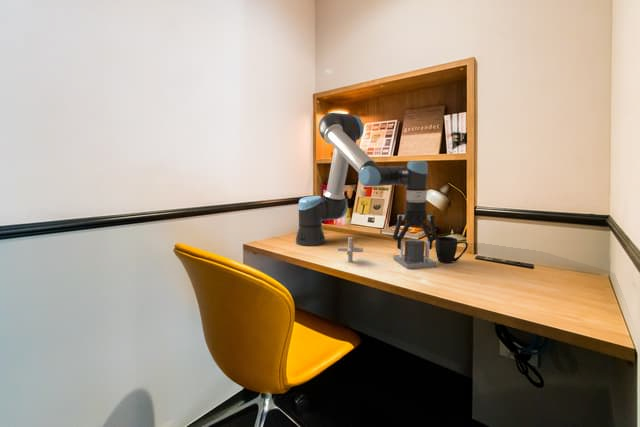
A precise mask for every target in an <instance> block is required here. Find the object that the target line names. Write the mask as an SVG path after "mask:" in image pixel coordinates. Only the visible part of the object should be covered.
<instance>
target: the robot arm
mask: <svg viewBox="0 0 640 427" xmlns="http://www.w3.org/2000/svg"><path fill="white" fill-rule="evenodd" d="M318 132H319V134H320V137H321V138H322V139H323V140H324V141H325V142H326V143H327V144H328V145H329V144H331V145H332V147H333V153H332V158H331V163H330V170H329V176H328V180H327V187H326V190H325V191H324V192H322V193H323V194H322V196H320V195H311V196H305V197H301V198H300V199H299V200H298V207H297V208H298V230H297V232H296V233H297V234H296V237H295V243H296V245H299V246H306V247H307V246H309V247H311V246H313V247H314V246H321V245H324V244H325V243H326V236H325V233H324V230H323V226H322V225H323V224H322V221H331V220H337V219H342V218H343V217H344V216H346V214H347V211H348V207H349V206H348V201H347V200H346V196H345V194H344V189H345V184H346V179H347V176H348V170H349V169H348V168H349V165H350V166H351V167H352V168H353V169H354V170H355V171H356V172H357V173H358V180H359V183H360V184H361V185H362V186H364V187H381V186H396V185H397V186H406V198H405V200H406V201H405V202H406V203H405V212H404V214H397V222H396V225H395V229H394V232H393V236H392V239H393V240H394V241H396V242H397V245H396V247H397V249H398V250H399V255H400V257H401V258H403V255H404V241H403V239H404V236H405V235H406V233H407V231H409V228H410V227H411V226H416V225H417V226H420V227H421V229H422V231H423V233H424V235H425V237H426V239H427V240H425V247H424V256H426V257H427V258H430V250H432V249H433V242H434V241H436V240H437V237H438V235H437V231H436V225H435V216H434V215H433V214H427V202H426V201H427V196H428V195H427V194H428V192H427V189H428V188H427V186H428V175H429V171H428V168H429V167H428V162H427V161H426V160H411V161H410V160H409V161H408V162H407V165H406V166H403V165H402V166H401V165H400V166H399V165H398V166H397V165H396V166H395V165H393V166H392V165H389V166H384V165H383V166H380V165H378V164H377V163H376V162H375V161H374V160H373V159H372V158H371V157H370V156H369V155H368V154H367V153H366V152H365V151H364V150H363V149H362V148H361V147H360V146H359V145H358V144H357V141H359V140H360V139H361V138H362V137H363V135H364V123H363V121H362V119H361V118H360V117H359V116H357V115H354V114H349V113H337V112H329V113H327V114H325V115H323V116H322V117H321V119H320V121H319V123H318ZM404 219H406V222H405V224H404V226H403V228H402V230H401V226H402V223H403V221H404ZM426 219H427V220H428V224H429V228H430V232H429V230H428V228H427V226H426V223H425V220H426ZM400 230H401V231H400ZM399 232H400V233H399Z"/></svg>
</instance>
